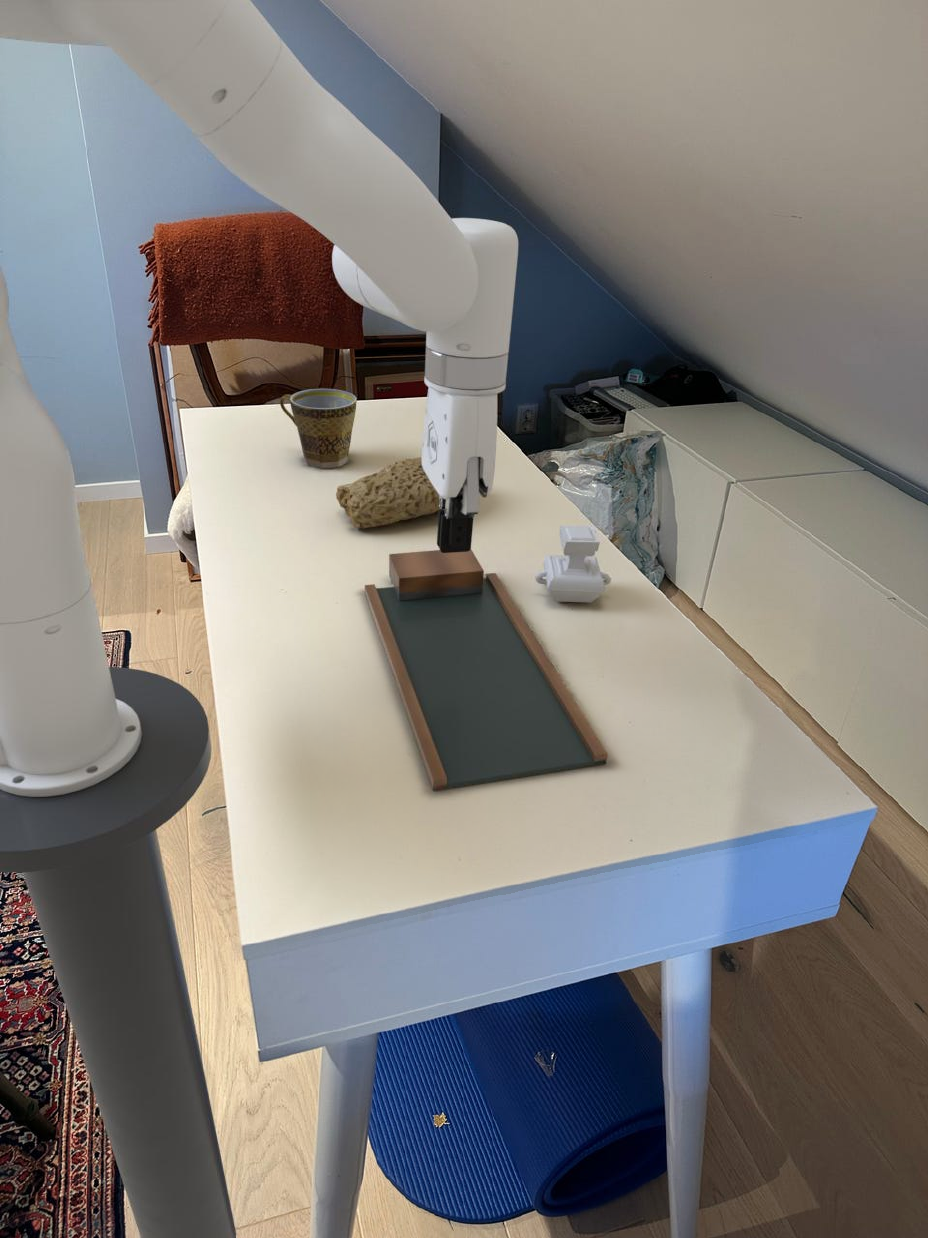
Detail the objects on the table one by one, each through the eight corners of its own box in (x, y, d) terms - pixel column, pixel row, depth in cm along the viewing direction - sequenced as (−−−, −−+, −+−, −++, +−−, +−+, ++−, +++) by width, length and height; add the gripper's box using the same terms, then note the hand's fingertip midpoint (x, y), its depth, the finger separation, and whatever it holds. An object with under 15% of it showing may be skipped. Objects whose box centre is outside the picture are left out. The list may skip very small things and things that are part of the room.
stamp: (604, 582, 106) (613, 520, 101) (612, 610, 100) (623, 546, 96) (531, 580, 106) (537, 517, 101) (535, 608, 100) (542, 543, 95)
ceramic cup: (369, 457, 138) (369, 395, 132) (335, 477, 130) (332, 413, 125) (302, 441, 142) (298, 381, 137) (264, 460, 134) (259, 397, 129)
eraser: (398, 601, 99) (399, 578, 97) (389, 576, 104) (389, 553, 102) (482, 592, 101) (484, 570, 100) (469, 568, 106) (470, 547, 105)
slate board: (433, 791, 73) (433, 780, 73) (364, 593, 101) (364, 584, 100) (606, 764, 77) (608, 753, 77) (494, 581, 105) (495, 572, 104)
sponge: (364, 549, 113) (497, 499, 118) (347, 494, 110) (486, 445, 115) (336, 525, 124) (460, 481, 130) (320, 474, 121) (448, 430, 126)
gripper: (408, 347, 84) (402, 520, 93) (446, 393, 71) (435, 586, 81) (482, 347, 86) (469, 516, 95) (531, 392, 73) (511, 581, 83)
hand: (453, 548), depth 88 cm, fingers closed
